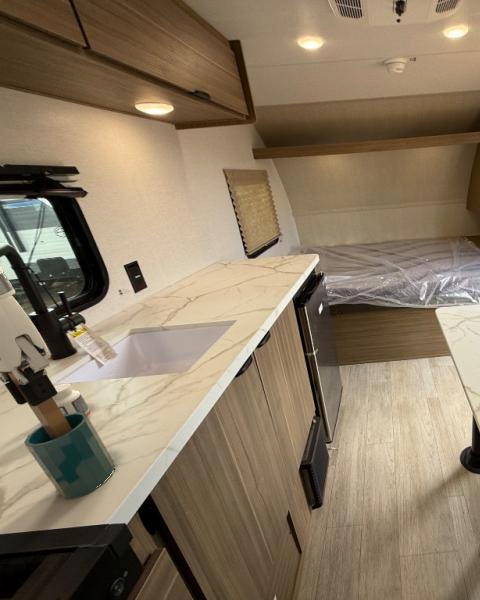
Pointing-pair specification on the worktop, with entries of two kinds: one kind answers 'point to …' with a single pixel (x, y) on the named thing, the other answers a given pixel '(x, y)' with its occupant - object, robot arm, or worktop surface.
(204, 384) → the worktop surface
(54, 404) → the brush
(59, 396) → the pill bottle
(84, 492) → the teal handleless cup
